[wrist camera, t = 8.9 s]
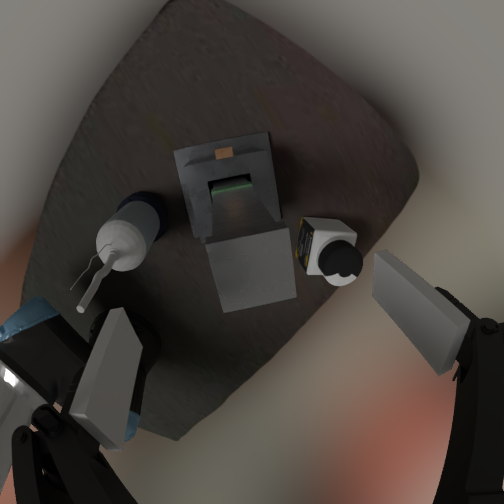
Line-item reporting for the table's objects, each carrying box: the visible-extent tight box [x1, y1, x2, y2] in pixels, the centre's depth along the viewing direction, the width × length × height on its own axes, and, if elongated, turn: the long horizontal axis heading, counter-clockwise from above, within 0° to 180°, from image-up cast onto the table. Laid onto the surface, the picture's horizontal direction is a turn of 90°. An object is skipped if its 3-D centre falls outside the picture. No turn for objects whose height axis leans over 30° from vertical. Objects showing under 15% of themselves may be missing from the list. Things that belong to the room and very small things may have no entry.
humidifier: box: [70, 192, 168, 313], centre depth 31 cm, size 8×8×25 cm
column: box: [205, 177, 297, 313], centre depth 26 cm, size 5×5×21 cm
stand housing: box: [174, 132, 281, 244], centre depth 37 cm, size 14×14×9 cm
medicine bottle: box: [295, 217, 363, 286], centre depth 42 cm, size 7×7×12 cm
